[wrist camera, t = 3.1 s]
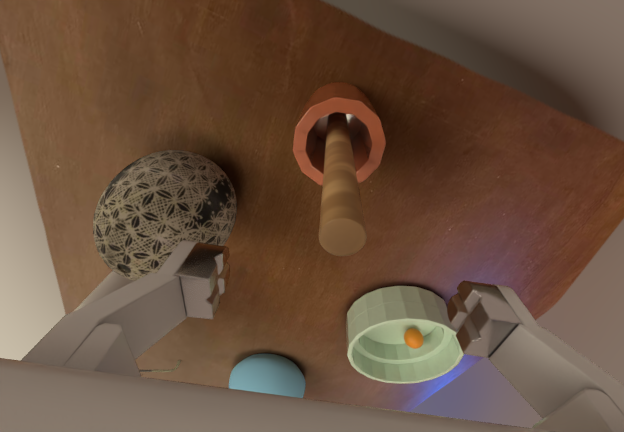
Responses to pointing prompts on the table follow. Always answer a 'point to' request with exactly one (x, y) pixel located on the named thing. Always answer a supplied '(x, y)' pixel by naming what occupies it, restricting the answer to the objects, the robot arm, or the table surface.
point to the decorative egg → (162, 210)
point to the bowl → (401, 335)
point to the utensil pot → (360, 122)
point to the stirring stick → (340, 193)
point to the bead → (413, 338)
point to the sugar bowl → (268, 376)
